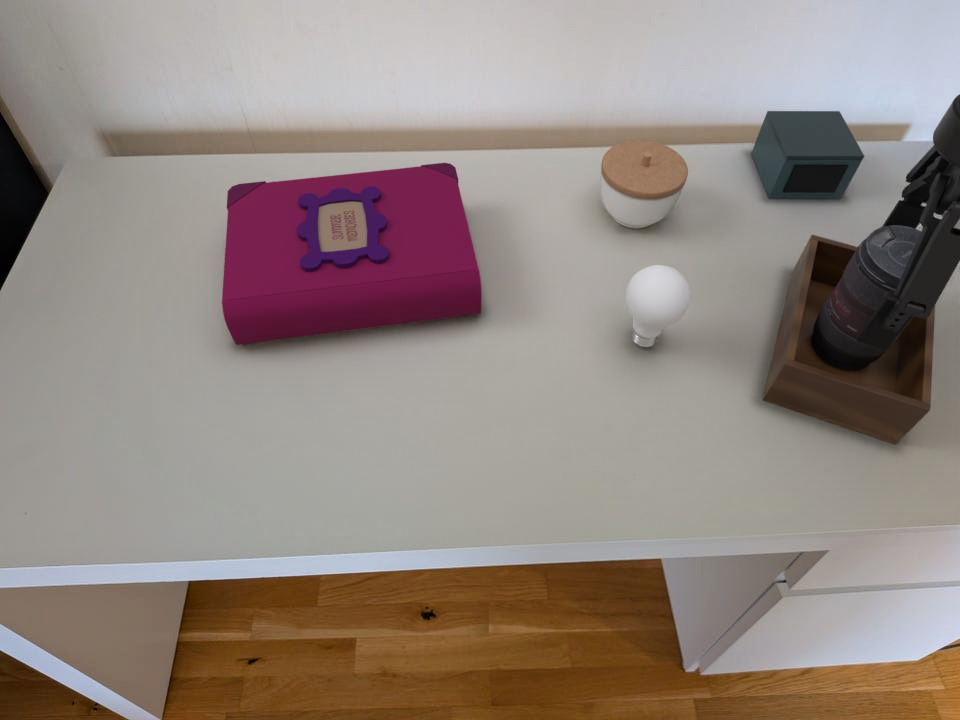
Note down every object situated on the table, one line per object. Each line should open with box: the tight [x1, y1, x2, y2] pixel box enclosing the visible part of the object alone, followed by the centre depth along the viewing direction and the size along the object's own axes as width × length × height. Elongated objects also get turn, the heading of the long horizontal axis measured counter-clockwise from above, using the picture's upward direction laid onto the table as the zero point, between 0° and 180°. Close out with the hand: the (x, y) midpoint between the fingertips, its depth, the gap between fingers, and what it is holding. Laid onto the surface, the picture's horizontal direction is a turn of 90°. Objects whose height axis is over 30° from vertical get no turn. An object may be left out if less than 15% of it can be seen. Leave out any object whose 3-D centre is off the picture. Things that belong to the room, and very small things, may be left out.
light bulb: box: [625, 264, 691, 348], centre depth 73 cm, size 7×7×11 cm
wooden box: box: [762, 234, 936, 445], centre depth 75 cm, size 21×14×7 cm, turn 156°
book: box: [221, 162, 482, 346], centre depth 81 cm, size 21×28×8 cm
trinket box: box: [599, 139, 689, 229], centre depth 87 cm, size 11×11×9 cm
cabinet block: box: [750, 110, 865, 200], centre depth 93 cm, size 10×10×7 cm
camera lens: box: [811, 225, 922, 371], centre depth 71 cm, size 8×8×15 cm
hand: (876, 295), depth 70 cm, fingers open, 13 cm apart
